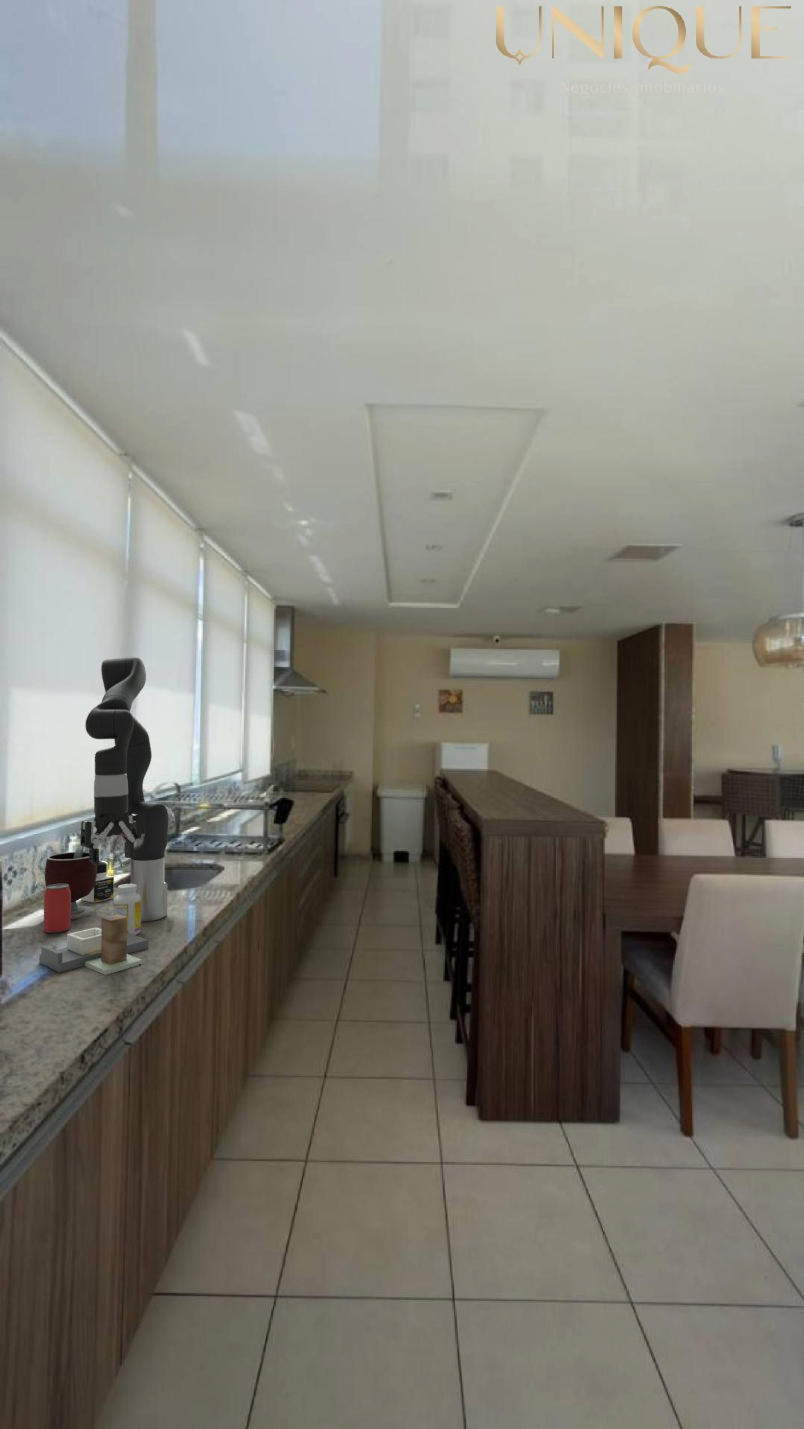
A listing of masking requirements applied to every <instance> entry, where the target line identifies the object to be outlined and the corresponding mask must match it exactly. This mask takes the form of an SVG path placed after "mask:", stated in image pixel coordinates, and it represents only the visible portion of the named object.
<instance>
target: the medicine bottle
mask: <svg viewBox="0 0 804 1429" xmlns="http://www.w3.org/2000/svg"><path fill="white" fill-rule="evenodd" d="M108 865H109V863H108V862H107V861H105V860H99V864H97V877H96V883H95V886H94V888H93V889H92V891H91V892H90V894H89V895H87V896H85V897H83V898H81V899H80V900H81V901H84V902H89V903H95V904H96V903H100V902H103V901H107V900H112V899H113V900H114V899H115V895H114V894H115V893H114V892H115V891H114V890H115V888H114V887H115V885H114V881H115V878H114V877H115V876H113V875H110V874H109V875H108V873H109V867H108Z"/></svg>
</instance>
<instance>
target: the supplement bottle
mask: <svg viewBox="0 0 804 1429" xmlns="http://www.w3.org/2000/svg"><path fill="white" fill-rule="evenodd" d="M136 889H137V885H136V884H131V883H124V884H119V885H118V886H117V892H118V894H117V895H116V896H114V898H113V915H116V914H119V915H122V916H126V917H127V933H130V934H133V935H136V936H138V934H140V933H141V930H142V921H141V897H140V895H139V894H137V893H136Z"/></svg>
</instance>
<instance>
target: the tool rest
mask: <svg viewBox="0 0 804 1429" xmlns="http://www.w3.org/2000/svg"><path fill="white" fill-rule="evenodd" d="M139 964H141V965H143V959H141V958H138V957H136V956H134V955H131V954H129V953H128V954H127V960H126V961H122V962H119V963H115V964H112V965H109V964H107V963H104V962H102V961H101V958H98V959H94V960H90V961H87V962H85V966H84V967H85V968H87V969H91V971H95V972H97V973H100V974H102V975H104V976H107V975H110V974H113V973H117V972H120V971H123V970H127V969H129V968H130V967H131V968H133V967H136V966H140V965H139Z"/></svg>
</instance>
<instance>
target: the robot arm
mask: <svg viewBox="0 0 804 1429" xmlns="http://www.w3.org/2000/svg"><path fill="white" fill-rule="evenodd" d="M100 671H101V678H102V683H103V687H104V695H103V697H102V699H101V702H100V703H99V704H97V705H96V706H94V707H93V708H92V709H91V710H90V712H89V713H88V715H87V716H86V719H85V726H84V728H85V731H86V733H87V735H89V737H91V739H95V740H114V746H112V747H108V748H103V749H100V750H98V751H96V752H95V754H94V781H93V782H94V783H93V807H94V808H93V813H94V819H93V820H82V821H81V823H80V824H81V825H80V844H79V846H80V845H81V846H83V847H84V848H88V852H89V861H90V862H91V863H92V864H94V865H97V864H99V861H100V849H99V846H100V844H101V843H102V842H103V841H104V840H105V839H106V837H113V836H121V837H122V838H123V840H124V858H127V859H130V884H136V885H137V889H136V893H137V894H139V895H140V897H141V922H153V921H158V920H160V919H162V918H164V917H167V916H168V882H165V854H166V848H167V846H168V833H169V832H168V831H169V812H168V809H167V807H166V805H165V804H164V803H161V802H155V801H154V802H152V801H146V800H145V796H144V788H143V787H144V786H143V784H144V780H145V777H146V774H147V772H148V770H149V767H150V765H151V761H152V747H151V742H150V741H151V740H150V735H149V733H148V731H147V730H146V728H145V727H144V726H143V725H142V724H141V723H140V722H139V720H138V719H137V718H136V717H134V715H133V714H132V713H131V709H132V705H133V703H134V701H135V699H136V698H137V697H138V695H139V694H140V693H141V691H142V690H143V689H144V687H145V685H146V680H147V674H146V672H147V671H146V668H145V664H144V661H143V660H142V659H141V658H139V657H137V656H127V657H118V658H107V659H104V660H103V661H102V662H101V669H100ZM94 828H96V829H95V831H93V834H92V830H93V829H94ZM142 835H144V837H143V838H144V839H143V842H142V843H141V844H140V845H137V846H135V842H136V841H137V840H138V839H141V838H142Z"/></svg>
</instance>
